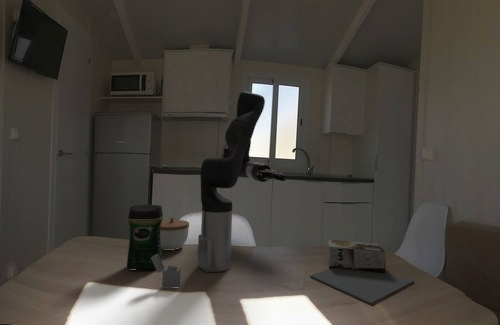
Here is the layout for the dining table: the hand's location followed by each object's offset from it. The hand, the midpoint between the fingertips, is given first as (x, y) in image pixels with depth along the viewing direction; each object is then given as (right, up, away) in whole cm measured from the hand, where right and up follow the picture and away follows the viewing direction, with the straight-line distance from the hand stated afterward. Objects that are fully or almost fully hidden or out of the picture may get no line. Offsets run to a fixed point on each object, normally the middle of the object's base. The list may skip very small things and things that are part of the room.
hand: (284, 178), depth 98 cm
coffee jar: (-44, -26, -19) cm, 55 cm away
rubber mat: (+19, -27, -24) cm, 41 cm away
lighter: (-34, -26, -32) cm, 53 cm away
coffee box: (+13, -23, -12) cm, 29 cm away
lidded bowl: (-42, -26, 0) cm, 49 cm away
